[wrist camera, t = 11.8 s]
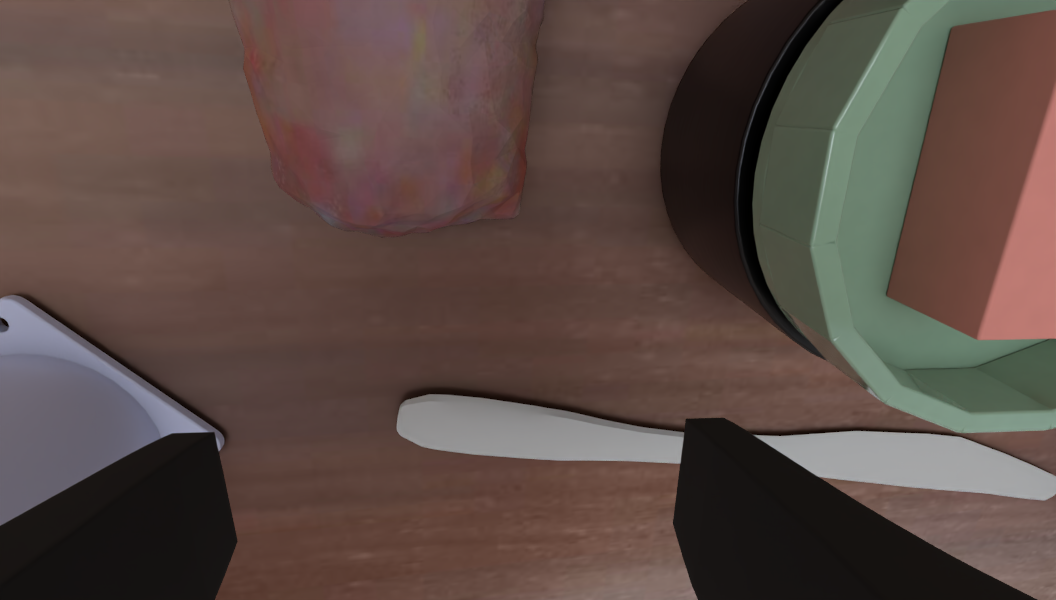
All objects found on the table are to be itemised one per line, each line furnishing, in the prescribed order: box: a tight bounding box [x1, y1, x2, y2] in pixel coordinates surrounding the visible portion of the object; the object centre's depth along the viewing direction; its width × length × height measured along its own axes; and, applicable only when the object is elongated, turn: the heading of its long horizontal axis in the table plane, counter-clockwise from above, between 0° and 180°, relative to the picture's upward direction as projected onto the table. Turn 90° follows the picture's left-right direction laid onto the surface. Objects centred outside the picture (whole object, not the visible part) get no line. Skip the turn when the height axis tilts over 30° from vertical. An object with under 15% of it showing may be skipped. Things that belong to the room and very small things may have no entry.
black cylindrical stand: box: [661, 0, 843, 361], centre depth 15 cm, size 10×10×6 cm
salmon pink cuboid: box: [887, 10, 1056, 340], centre depth 10 cm, size 6×4×2 cm, turn 179°
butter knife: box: [397, 394, 1056, 500], centre depth 21 cm, size 1×27×3 cm
